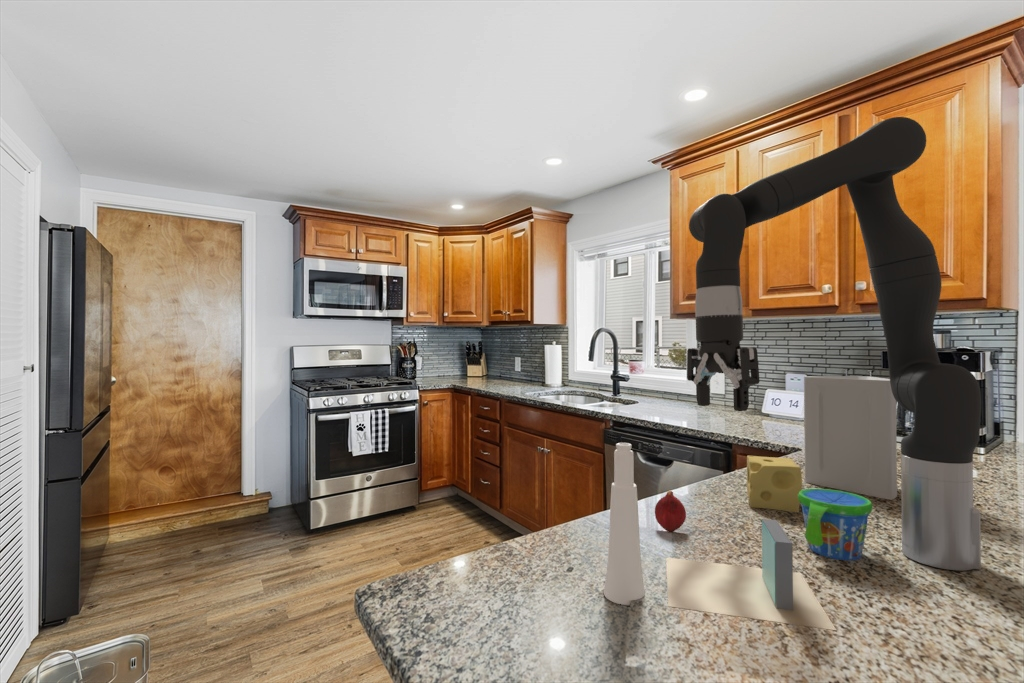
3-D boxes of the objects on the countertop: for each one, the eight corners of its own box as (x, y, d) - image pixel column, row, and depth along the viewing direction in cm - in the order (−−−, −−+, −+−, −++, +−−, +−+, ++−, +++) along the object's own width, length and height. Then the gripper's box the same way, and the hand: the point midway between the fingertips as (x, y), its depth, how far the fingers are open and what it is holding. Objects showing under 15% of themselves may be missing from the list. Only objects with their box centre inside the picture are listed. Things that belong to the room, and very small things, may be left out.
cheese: (749, 508, 109) (748, 463, 109) (745, 494, 119) (745, 453, 119) (802, 514, 105) (802, 467, 105) (794, 499, 115) (794, 457, 115)
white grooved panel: (910, 488, 123) (909, 378, 124) (891, 500, 114) (890, 380, 115) (826, 473, 139) (825, 374, 139) (803, 482, 130) (802, 376, 130)
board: (800, 578, 76) (800, 572, 76) (836, 636, 61) (836, 630, 61) (666, 562, 82) (666, 557, 82) (668, 612, 66) (668, 606, 66)
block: (777, 579, 74) (776, 520, 74) (793, 610, 65) (792, 543, 65) (761, 577, 74) (761, 518, 74) (775, 608, 66) (775, 541, 66)
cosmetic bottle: (611, 581, 75) (610, 438, 75) (650, 591, 72) (649, 442, 72) (597, 599, 70) (596, 445, 70) (639, 610, 67) (638, 449, 67)
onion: (688, 539, 91) (687, 496, 92) (656, 537, 93) (656, 494, 93) (683, 527, 97) (683, 487, 97) (653, 525, 98) (653, 486, 98)
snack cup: (828, 536, 93) (828, 482, 93) (893, 557, 83) (892, 498, 83) (777, 553, 85) (776, 494, 85) (841, 578, 76) (840, 512, 76)
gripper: (769, 311, 79) (772, 411, 79) (706, 317, 92) (709, 402, 92) (733, 310, 76) (736, 414, 76) (673, 317, 90) (676, 405, 89)
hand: (721, 408), depth 84 cm, fingers open, 8 cm apart
